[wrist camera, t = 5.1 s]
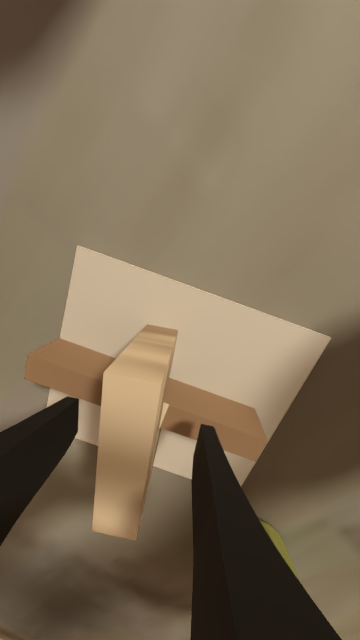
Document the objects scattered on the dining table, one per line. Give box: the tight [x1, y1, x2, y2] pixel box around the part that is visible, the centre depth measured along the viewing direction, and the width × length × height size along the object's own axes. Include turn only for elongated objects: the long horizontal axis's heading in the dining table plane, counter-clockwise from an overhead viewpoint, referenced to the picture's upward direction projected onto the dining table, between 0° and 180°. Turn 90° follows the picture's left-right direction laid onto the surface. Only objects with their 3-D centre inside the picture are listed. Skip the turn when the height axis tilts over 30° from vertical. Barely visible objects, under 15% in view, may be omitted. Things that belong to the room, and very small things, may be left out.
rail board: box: [24, 245, 331, 486], centre depth 12 cm, size 16×14×3 cm
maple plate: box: [92, 324, 178, 541], centre depth 10 cm, size 8×2×6 cm, turn 170°
